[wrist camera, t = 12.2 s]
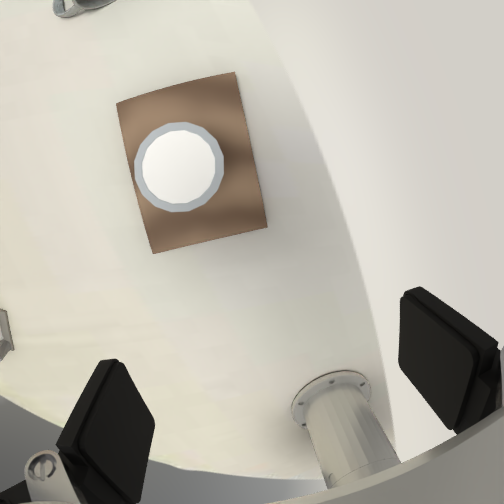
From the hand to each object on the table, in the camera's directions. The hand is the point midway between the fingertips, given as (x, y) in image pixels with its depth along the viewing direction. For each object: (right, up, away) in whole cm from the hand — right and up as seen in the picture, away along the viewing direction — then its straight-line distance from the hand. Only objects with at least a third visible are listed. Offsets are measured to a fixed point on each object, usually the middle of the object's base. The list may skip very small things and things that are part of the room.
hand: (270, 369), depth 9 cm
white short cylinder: (-7, +12, +19) cm, 23 cm away
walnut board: (-7, +13, +20) cm, 25 cm away
